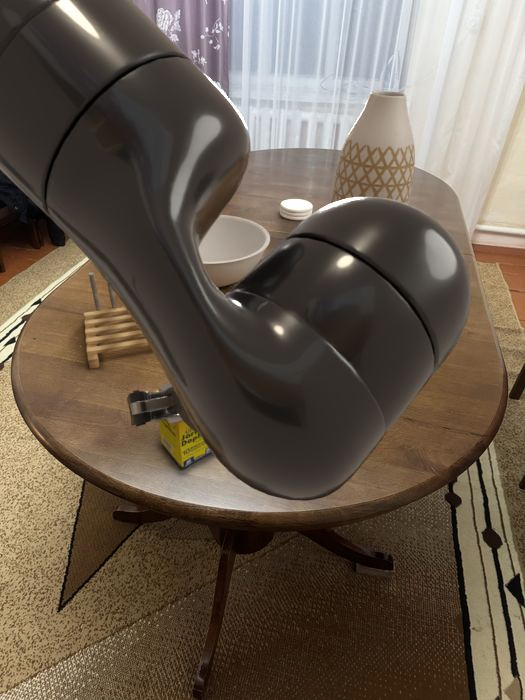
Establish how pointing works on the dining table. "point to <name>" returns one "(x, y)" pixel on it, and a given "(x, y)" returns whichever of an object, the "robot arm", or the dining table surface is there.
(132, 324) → the dish rack
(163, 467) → the dining table surface
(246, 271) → the bowl
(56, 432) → the dining table surface
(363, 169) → the vase
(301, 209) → the coaster
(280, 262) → the robot arm
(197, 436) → the supplement box
